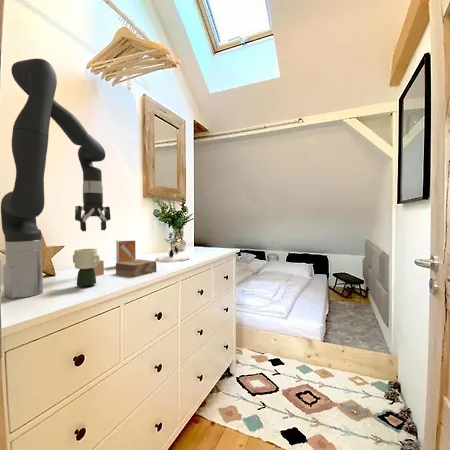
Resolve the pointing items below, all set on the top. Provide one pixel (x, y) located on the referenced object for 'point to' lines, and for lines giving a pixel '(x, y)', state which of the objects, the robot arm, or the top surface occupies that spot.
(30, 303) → the top surface
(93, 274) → the character mug
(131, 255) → the small box
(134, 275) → the walnut block
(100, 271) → the terracotta block
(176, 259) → the figurine
